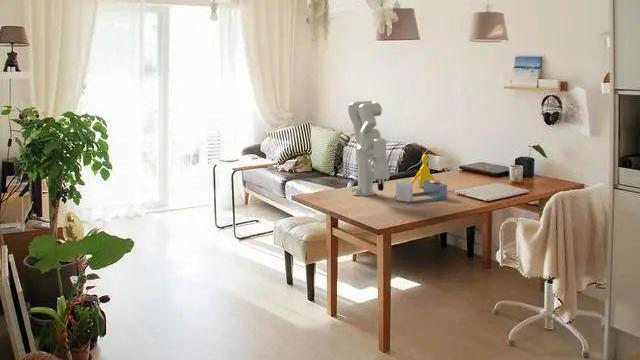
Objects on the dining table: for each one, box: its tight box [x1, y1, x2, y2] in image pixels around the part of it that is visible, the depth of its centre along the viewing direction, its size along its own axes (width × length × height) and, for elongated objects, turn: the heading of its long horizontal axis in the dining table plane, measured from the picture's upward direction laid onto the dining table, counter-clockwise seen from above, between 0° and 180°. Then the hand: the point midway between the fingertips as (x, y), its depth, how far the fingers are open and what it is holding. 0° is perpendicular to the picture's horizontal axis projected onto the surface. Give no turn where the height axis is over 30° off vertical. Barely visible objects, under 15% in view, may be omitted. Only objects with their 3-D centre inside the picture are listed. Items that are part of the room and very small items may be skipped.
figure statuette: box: [410, 154, 437, 188], centre depth 387 cm, size 18×8×22 cm, turn 93°
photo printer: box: [395, 180, 413, 203], centre depth 352 cm, size 10×4×12 cm, turn 57°
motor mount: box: [394, 179, 448, 205], centre depth 356 cm, size 26×19×10 cm
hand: (380, 190), depth 346 cm, fingers closed
